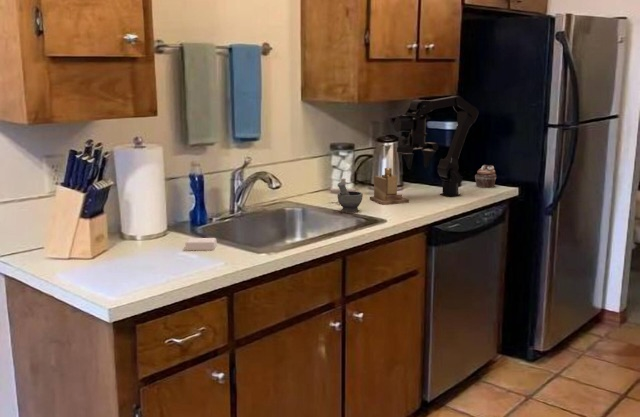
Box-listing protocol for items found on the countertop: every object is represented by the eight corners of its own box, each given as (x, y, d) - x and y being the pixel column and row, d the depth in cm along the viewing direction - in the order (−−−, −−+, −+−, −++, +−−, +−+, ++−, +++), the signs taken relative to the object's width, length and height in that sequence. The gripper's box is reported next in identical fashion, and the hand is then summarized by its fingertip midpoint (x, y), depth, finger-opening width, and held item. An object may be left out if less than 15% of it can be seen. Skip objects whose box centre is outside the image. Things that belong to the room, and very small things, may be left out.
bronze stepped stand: (395, 197, 285) (395, 173, 283) (408, 202, 274) (409, 177, 272) (369, 199, 281) (369, 175, 278) (382, 204, 270) (382, 180, 267)
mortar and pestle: (350, 207, 266) (350, 177, 264) (367, 210, 260) (367, 180, 257) (330, 211, 259) (329, 181, 256) (347, 215, 252) (347, 184, 249)
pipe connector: (356, 200, 279) (356, 176, 277) (354, 205, 269) (354, 180, 267) (332, 200, 280) (332, 176, 278) (330, 205, 270) (330, 180, 268)
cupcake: (475, 184, 314) (476, 163, 312) (496, 185, 311) (497, 163, 309) (473, 187, 305) (474, 166, 303) (495, 188, 302) (496, 166, 300)
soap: (217, 246, 212) (216, 237, 211) (214, 251, 206) (214, 241, 206) (188, 246, 212) (188, 237, 211) (185, 251, 206) (184, 242, 206)
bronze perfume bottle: (390, 196, 280) (391, 167, 278) (396, 198, 275) (397, 168, 273) (381, 197, 279) (381, 167, 276) (387, 199, 274) (387, 169, 271)
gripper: (421, 128, 286) (420, 164, 290) (388, 130, 276) (387, 168, 279) (439, 130, 278) (438, 167, 281) (406, 132, 267) (405, 171, 270)
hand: (417, 168), depth 278 cm, fingers open, 9 cm apart
